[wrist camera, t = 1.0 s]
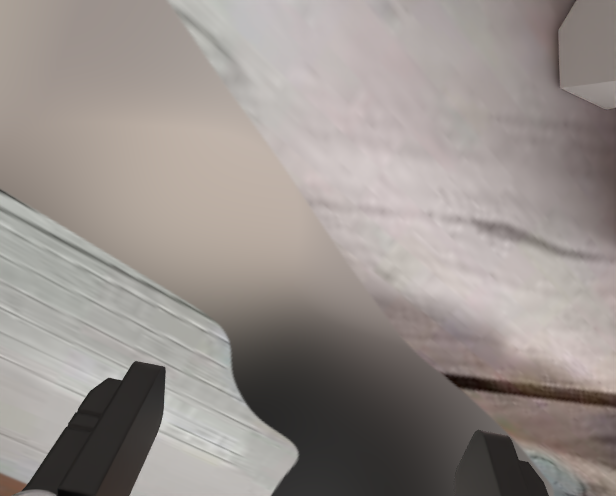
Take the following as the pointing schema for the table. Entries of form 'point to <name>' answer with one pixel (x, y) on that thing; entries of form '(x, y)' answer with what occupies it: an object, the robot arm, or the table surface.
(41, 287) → the table surface
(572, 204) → the table surface
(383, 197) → the table surface
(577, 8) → the flask
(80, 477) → the robot arm
